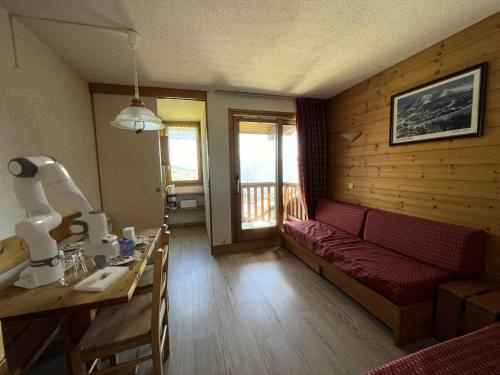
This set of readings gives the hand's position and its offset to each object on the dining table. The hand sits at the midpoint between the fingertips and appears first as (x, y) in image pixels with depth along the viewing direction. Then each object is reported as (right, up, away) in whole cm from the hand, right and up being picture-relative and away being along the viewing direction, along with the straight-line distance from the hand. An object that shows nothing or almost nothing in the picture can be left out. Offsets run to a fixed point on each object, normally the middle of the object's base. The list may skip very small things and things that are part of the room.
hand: (102, 261), depth 122 cm
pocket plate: (0, -11, +1) cm, 11 cm away
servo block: (0, -3, 0) cm, 3 cm away
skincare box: (-11, -5, +48) cm, 50 cm away
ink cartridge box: (-5, -7, +33) cm, 34 cm away
